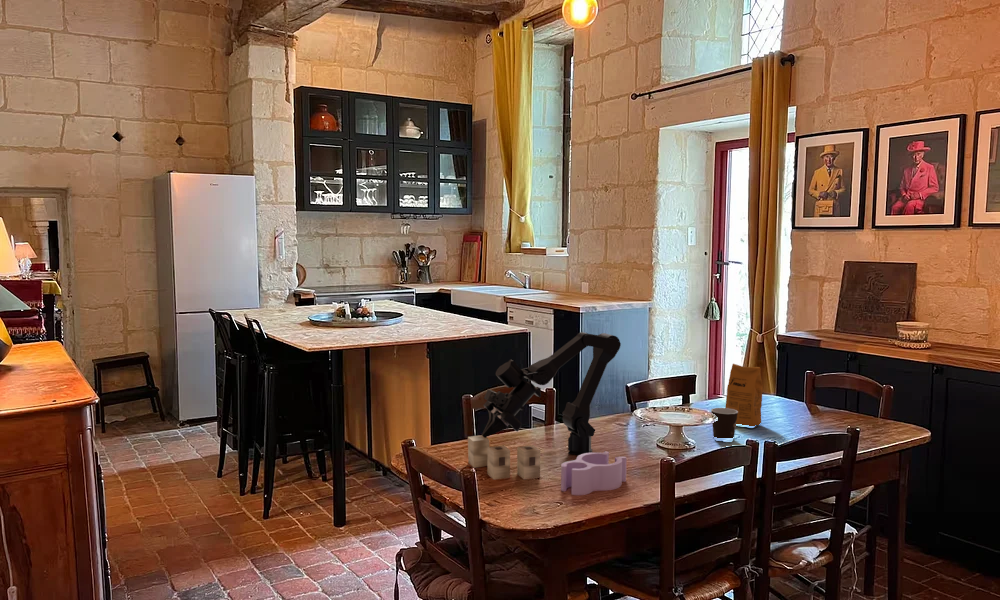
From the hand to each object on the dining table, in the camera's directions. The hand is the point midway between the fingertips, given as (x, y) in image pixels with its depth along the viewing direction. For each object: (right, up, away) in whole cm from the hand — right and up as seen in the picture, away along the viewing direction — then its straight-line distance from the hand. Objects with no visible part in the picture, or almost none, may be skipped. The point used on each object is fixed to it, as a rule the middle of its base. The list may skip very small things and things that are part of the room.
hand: (483, 436), depth 222 cm
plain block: (-1, -8, 0) cm, 8 cm away
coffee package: (+93, -5, +48) cm, 105 cm away
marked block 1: (+5, -9, -10) cm, 15 cm away
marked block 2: (+13, -9, -10) cm, 19 cm away
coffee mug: (+82, -6, +29) cm, 87 cm away
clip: (+31, -11, -17) cm, 37 cm away
